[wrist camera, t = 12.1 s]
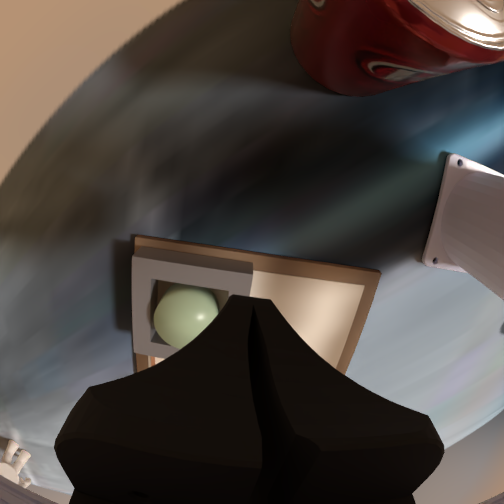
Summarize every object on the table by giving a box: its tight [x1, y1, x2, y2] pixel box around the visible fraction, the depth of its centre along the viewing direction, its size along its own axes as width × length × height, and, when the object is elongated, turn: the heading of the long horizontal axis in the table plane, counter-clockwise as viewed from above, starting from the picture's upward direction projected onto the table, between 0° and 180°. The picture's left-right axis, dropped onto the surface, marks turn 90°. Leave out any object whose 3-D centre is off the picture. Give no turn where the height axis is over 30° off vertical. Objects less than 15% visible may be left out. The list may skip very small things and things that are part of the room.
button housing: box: [132, 246, 253, 359], centre depth 20 cm, size 7×7×2 cm
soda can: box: [290, 0, 504, 97], centre depth 10 cm, size 7×7×12 cm
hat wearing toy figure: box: [0, 440, 31, 488], centre depth 24 cm, size 9×4×12 cm, turn 37°
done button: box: [154, 283, 220, 349], centre depth 19 cm, size 4×4×2 cm
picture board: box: [135, 235, 381, 375], centre depth 23 cm, size 16×18×1 cm
